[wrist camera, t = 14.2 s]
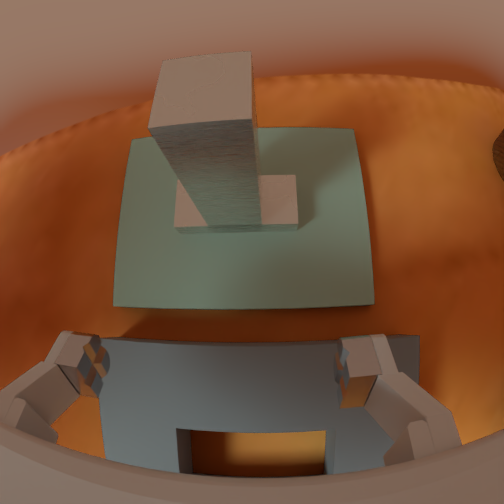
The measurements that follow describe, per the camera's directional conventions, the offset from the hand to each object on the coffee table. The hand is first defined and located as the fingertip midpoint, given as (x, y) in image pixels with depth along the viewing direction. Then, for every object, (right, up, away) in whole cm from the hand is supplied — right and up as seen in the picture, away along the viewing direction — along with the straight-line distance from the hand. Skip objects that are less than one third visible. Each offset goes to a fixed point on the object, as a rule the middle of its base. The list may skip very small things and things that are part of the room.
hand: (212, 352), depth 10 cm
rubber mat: (+1, +6, +10) cm, 12 cm away
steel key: (0, +6, +9) cm, 11 cm away
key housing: (+2, -9, +7) cm, 11 cm away
